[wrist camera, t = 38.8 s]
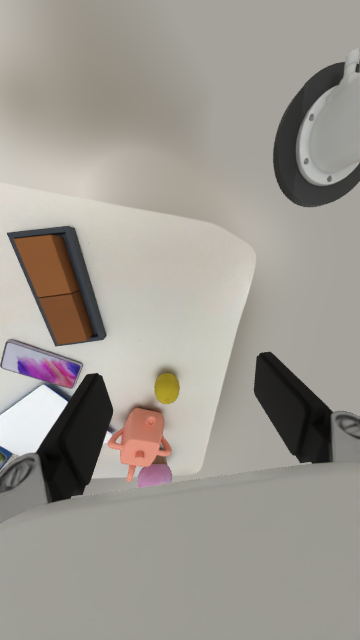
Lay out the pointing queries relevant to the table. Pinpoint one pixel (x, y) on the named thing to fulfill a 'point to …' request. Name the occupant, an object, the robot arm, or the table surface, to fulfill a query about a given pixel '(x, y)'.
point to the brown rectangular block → (48, 264)
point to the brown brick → (67, 317)
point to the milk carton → (4, 456)
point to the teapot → (140, 439)
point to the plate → (32, 421)
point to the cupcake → (155, 473)
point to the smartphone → (40, 364)
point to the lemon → (167, 388)
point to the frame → (80, 273)
